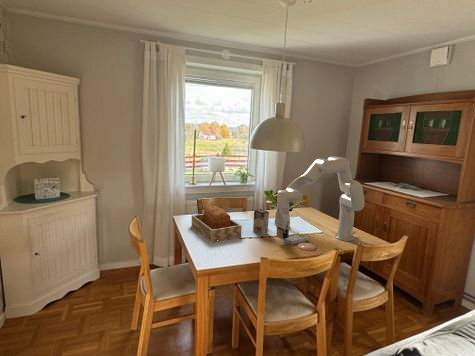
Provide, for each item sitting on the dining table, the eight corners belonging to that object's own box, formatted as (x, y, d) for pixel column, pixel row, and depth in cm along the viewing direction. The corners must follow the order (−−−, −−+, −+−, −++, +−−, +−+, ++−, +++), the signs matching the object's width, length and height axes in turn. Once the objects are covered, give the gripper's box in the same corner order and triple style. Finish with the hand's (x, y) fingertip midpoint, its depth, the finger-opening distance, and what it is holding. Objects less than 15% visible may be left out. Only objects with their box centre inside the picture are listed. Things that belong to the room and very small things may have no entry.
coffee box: (252, 231, 202) (253, 210, 200) (258, 229, 207) (259, 208, 204) (262, 235, 196) (263, 213, 193) (268, 233, 201) (269, 211, 198)
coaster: (306, 242, 186) (306, 241, 186) (319, 248, 177) (319, 247, 177) (294, 245, 181) (294, 244, 181) (306, 252, 172) (306, 251, 171)
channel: (298, 236, 197) (298, 232, 197) (307, 240, 189) (307, 237, 189) (282, 239, 190) (282, 236, 189) (291, 244, 182) (291, 240, 182)
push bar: (296, 239, 193) (297, 234, 192) (302, 241, 189) (302, 237, 188) (283, 242, 186) (283, 237, 186) (288, 245, 182) (289, 240, 182)
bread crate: (218, 221, 221) (218, 211, 220) (241, 236, 192) (241, 225, 191) (191, 225, 210) (191, 215, 208) (211, 242, 181) (211, 230, 179)
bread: (213, 237, 190) (214, 214, 187) (201, 224, 213) (202, 204, 210) (232, 234, 196) (233, 212, 193) (218, 222, 219) (219, 203, 216)
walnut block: (282, 234, 187) (283, 226, 186) (288, 237, 182) (288, 229, 181) (276, 236, 184) (276, 228, 183) (282, 239, 179) (282, 231, 178)
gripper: (270, 207, 185) (269, 233, 188) (287, 214, 170) (286, 242, 174) (279, 205, 189) (278, 231, 192) (296, 212, 174) (295, 239, 177)
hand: (282, 236), depth 183 cm, fingers closed on walnut block, 5 cm apart
